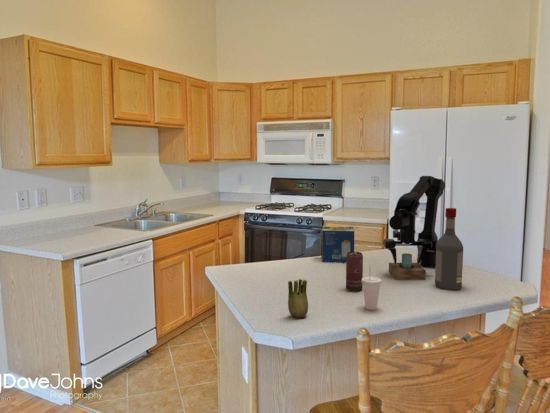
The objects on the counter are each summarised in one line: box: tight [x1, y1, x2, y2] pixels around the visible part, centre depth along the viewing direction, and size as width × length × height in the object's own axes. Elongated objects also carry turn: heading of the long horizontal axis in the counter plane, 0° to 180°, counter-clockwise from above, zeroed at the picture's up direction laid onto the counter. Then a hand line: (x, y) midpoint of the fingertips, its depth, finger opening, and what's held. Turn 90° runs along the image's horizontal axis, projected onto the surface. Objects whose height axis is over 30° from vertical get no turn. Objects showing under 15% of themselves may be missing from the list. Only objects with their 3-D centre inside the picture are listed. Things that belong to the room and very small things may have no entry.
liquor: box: [434, 207, 464, 291], centre depth 155 cm, size 9×9×30 cm
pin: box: [401, 252, 413, 268], centre depth 170 cm, size 4×4×8 cm
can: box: [345, 250, 364, 293], centre depth 154 cm, size 6×6×14 cm
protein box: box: [321, 226, 355, 264], centre depth 197 cm, size 10×15×16 cm
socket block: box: [388, 262, 427, 281], centre depth 171 cm, size 12×12×4 cm
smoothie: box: [362, 266, 382, 311], centre depth 135 cm, size 6×6×14 cm
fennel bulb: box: [287, 278, 309, 319], centre depth 128 cm, size 6×5×12 cm
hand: (406, 263), depth 170 cm, fingers open, 9 cm apart
